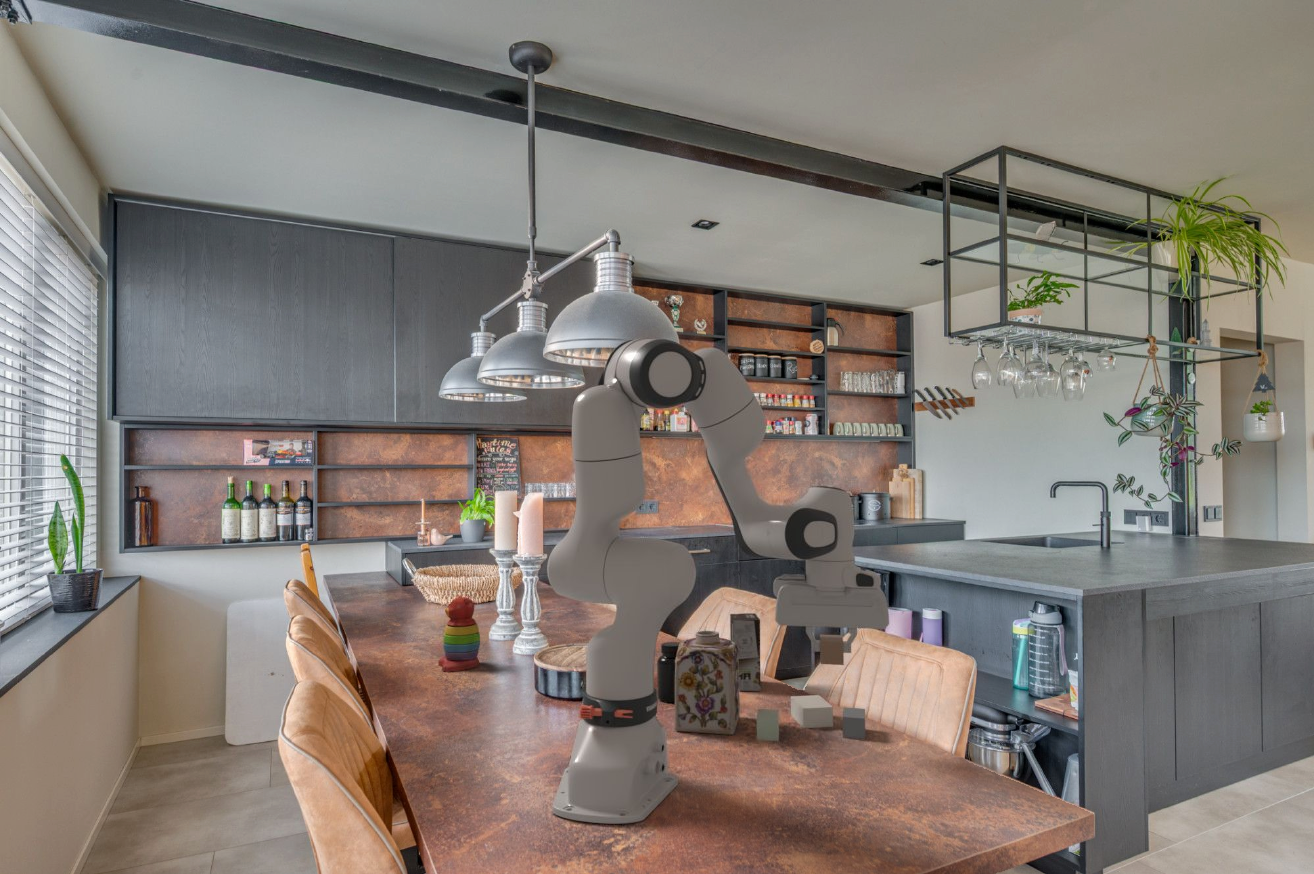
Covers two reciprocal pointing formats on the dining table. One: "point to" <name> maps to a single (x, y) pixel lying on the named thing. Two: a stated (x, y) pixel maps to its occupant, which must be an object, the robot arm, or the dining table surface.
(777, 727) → the sage brick
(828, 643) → the walnut brick
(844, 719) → the grey brick
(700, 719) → the decorative jar
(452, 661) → the stacking bear
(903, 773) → the dining table surface
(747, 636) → the coffee box
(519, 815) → the dining table surface
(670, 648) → the supplement bottle
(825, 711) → the cream block
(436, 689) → the dining table surface
